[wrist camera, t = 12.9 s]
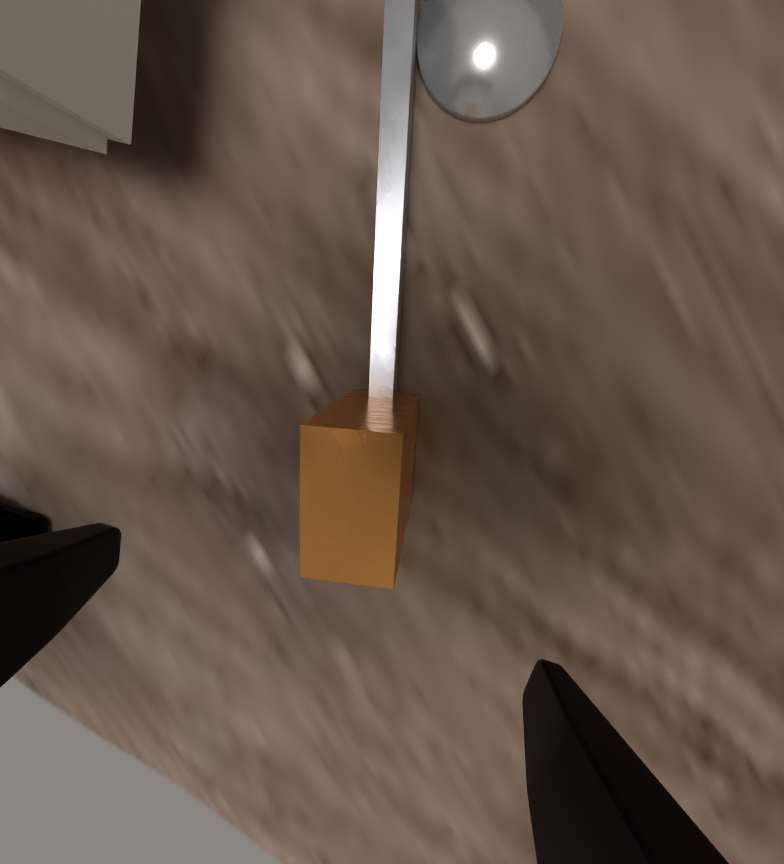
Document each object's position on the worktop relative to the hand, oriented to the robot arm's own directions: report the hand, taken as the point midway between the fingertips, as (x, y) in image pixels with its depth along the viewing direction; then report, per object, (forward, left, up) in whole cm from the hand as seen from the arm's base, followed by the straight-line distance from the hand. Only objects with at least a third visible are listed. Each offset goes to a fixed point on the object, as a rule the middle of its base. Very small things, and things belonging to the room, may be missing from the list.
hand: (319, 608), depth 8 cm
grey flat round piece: (+16, 0, -11) cm, 20 cm away
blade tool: (+8, +2, -11) cm, 14 cm away
